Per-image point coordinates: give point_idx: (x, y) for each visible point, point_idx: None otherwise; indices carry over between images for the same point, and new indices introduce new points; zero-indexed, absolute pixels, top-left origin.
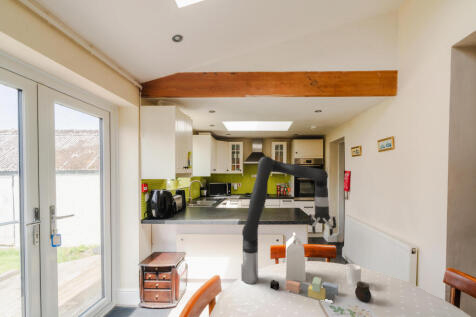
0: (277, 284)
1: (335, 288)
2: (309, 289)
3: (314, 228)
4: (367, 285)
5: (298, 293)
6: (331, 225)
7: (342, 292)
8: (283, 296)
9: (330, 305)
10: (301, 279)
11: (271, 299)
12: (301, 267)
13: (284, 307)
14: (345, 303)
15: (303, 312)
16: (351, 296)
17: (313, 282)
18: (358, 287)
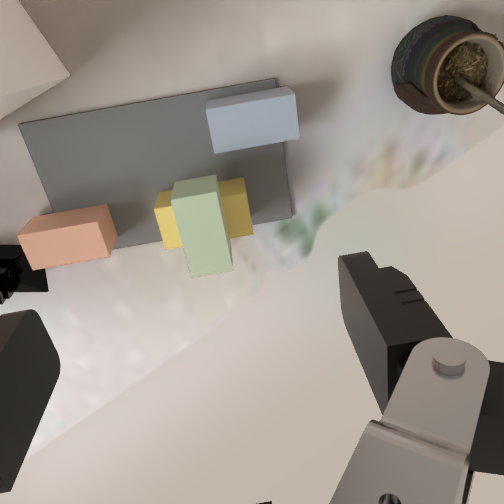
0: (3, 287)
1: (290, 138)
2: (173, 246)
3: (19, 459)
4: (502, 109)
5: (117, 238)
6: (470, 419)
7: (308, 53)
8: (76, 295)
9: (281, 225)
10: (40, 92)
11: (53, 343)
12: (4, 103)
13: (131, 351)
14: (340, 163)
15: (205, 333)
16: (361, 67)
17: (198, 274)
18: (433, 106)
